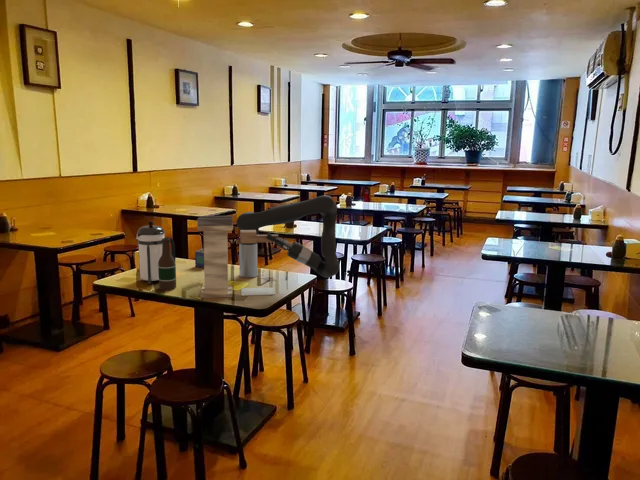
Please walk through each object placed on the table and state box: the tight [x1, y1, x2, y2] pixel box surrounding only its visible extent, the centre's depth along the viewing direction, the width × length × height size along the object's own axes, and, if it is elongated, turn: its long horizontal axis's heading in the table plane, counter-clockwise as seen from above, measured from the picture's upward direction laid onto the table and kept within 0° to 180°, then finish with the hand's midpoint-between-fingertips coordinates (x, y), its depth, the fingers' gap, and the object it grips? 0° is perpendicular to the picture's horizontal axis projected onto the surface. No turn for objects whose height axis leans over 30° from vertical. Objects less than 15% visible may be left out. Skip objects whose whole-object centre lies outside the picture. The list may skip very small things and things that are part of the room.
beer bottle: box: [158, 237, 177, 291], centre depth 230 cm, size 8×8×24 cm
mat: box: [240, 287, 276, 297], centre depth 229 cm, size 11×15×1 cm
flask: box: [194, 248, 204, 269], centre depth 272 cm, size 9×3×11 cm, turn 63°
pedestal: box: [196, 215, 234, 299], centre depth 223 cm, size 14×15×35 cm
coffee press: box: [135, 220, 176, 286], centre depth 243 cm, size 17×16×30 cm
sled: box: [239, 229, 279, 243], centre depth 225 cm, size 6×17×5 cm, turn 99°
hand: (267, 235), depth 225 cm, fingers closed on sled, 3 cm apart
